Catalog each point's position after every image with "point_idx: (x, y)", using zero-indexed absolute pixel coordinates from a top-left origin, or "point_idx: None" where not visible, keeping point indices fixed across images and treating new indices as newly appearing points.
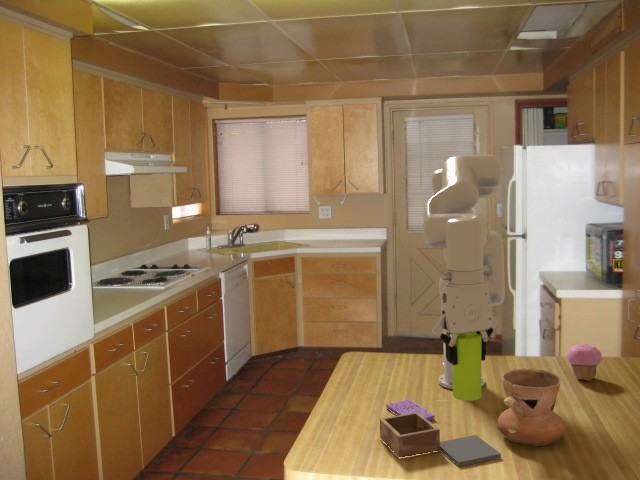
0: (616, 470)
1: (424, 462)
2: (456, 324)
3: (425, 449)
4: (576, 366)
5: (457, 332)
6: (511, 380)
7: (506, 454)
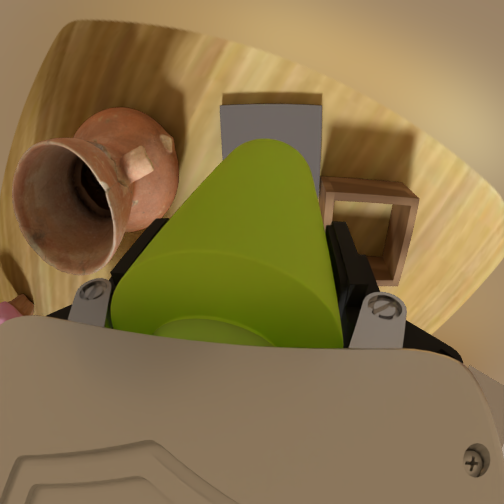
0: (76, 31)
1: (370, 150)
2: (447, 451)
3: (353, 181)
4: (24, 313)
5: (414, 355)
6: (97, 255)
7: (203, 116)
